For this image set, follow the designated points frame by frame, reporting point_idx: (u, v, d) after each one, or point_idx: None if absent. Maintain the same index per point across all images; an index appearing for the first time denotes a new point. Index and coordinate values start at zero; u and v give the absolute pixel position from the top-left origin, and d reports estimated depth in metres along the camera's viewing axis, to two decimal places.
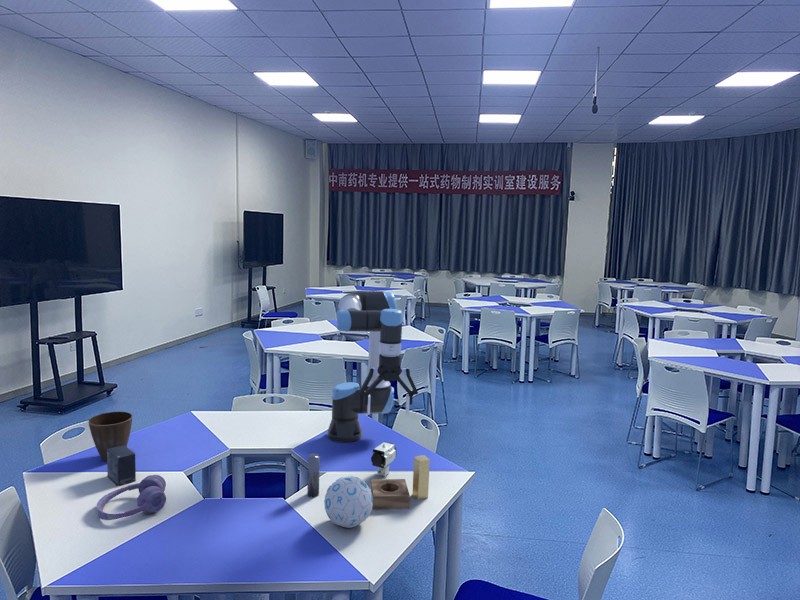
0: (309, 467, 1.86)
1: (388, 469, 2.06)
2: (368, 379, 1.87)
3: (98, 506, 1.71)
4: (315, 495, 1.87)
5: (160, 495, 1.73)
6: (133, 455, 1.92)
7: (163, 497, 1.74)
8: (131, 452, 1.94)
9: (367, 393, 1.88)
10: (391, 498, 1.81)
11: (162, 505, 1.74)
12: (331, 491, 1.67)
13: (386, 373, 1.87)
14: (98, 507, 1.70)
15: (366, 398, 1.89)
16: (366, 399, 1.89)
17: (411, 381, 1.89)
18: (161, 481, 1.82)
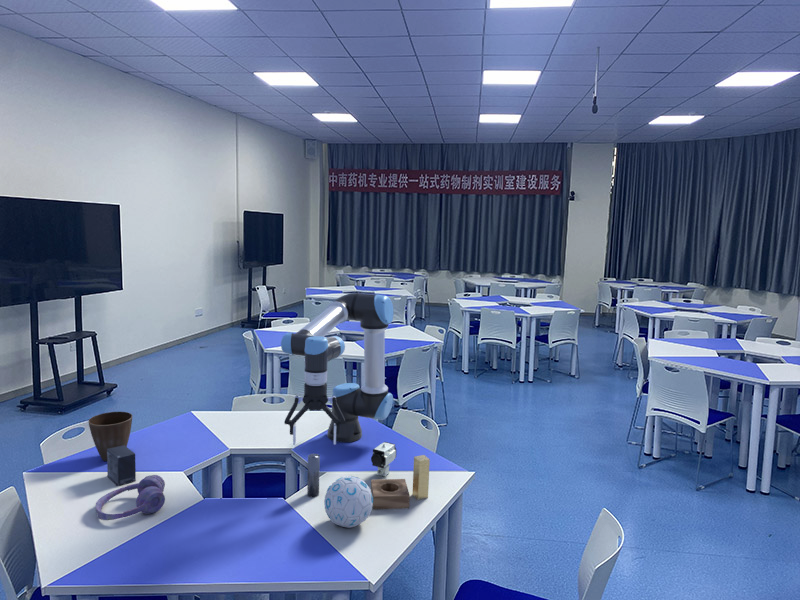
0: (309, 467, 1.86)
1: (388, 469, 2.06)
2: (293, 408, 1.83)
3: (97, 506, 1.71)
4: (315, 495, 1.87)
5: (159, 495, 1.73)
6: (133, 455, 1.92)
7: (162, 497, 1.74)
8: (131, 452, 1.94)
9: (292, 423, 1.83)
10: (391, 498, 1.81)
11: (161, 505, 1.74)
12: (331, 491, 1.67)
13: (311, 402, 1.82)
14: (97, 507, 1.70)
15: (291, 428, 1.84)
16: (291, 429, 1.84)
17: (338, 410, 1.85)
18: (160, 481, 1.81)
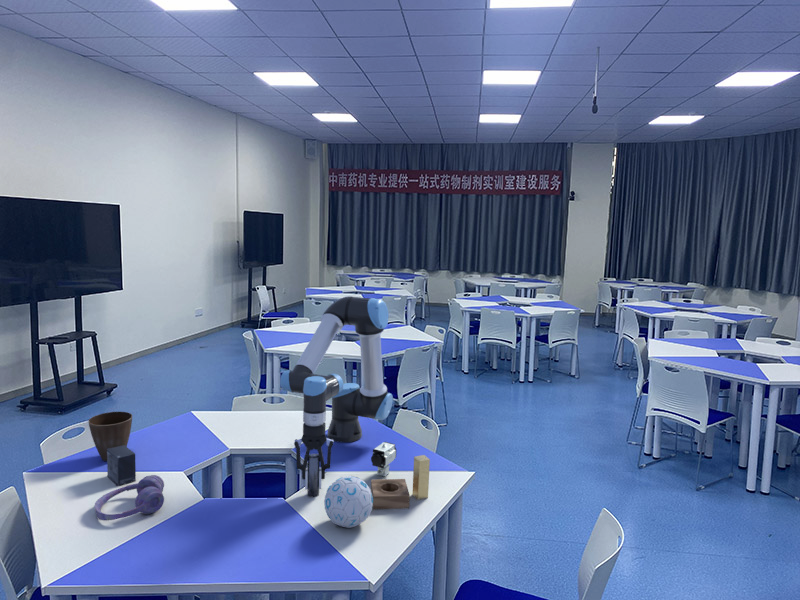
0: (309, 467, 1.86)
1: (388, 469, 2.06)
2: (297, 453, 1.85)
3: (96, 506, 1.71)
4: (315, 495, 1.87)
5: (158, 495, 1.73)
6: (133, 455, 1.92)
7: (161, 498, 1.74)
8: (131, 452, 1.94)
9: (303, 468, 1.86)
10: (391, 498, 1.81)
11: (160, 506, 1.73)
12: (331, 491, 1.67)
13: (310, 442, 1.84)
14: (96, 507, 1.70)
15: (304, 473, 1.87)
16: (303, 474, 1.87)
17: (329, 454, 1.87)
18: (159, 481, 1.81)
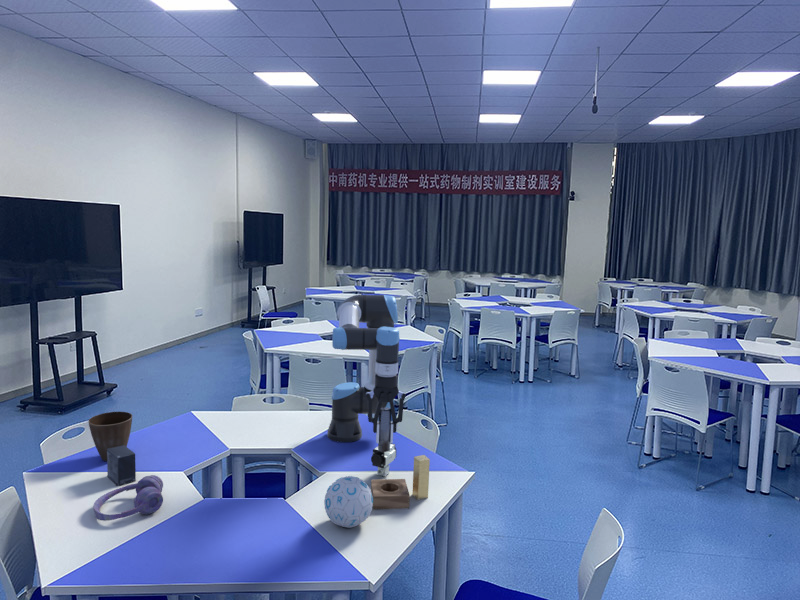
0: (381, 420, 1.82)
1: (388, 469, 2.06)
2: (369, 405, 1.81)
3: (95, 506, 1.70)
4: (386, 449, 1.83)
5: (157, 496, 1.73)
6: (133, 455, 1.92)
7: (160, 498, 1.73)
8: (131, 452, 1.94)
9: (375, 420, 1.82)
10: (391, 498, 1.81)
11: (159, 506, 1.73)
12: (331, 491, 1.67)
13: (382, 394, 1.80)
14: (95, 507, 1.70)
15: (375, 426, 1.83)
16: (375, 427, 1.83)
17: (401, 407, 1.82)
18: (158, 482, 1.81)
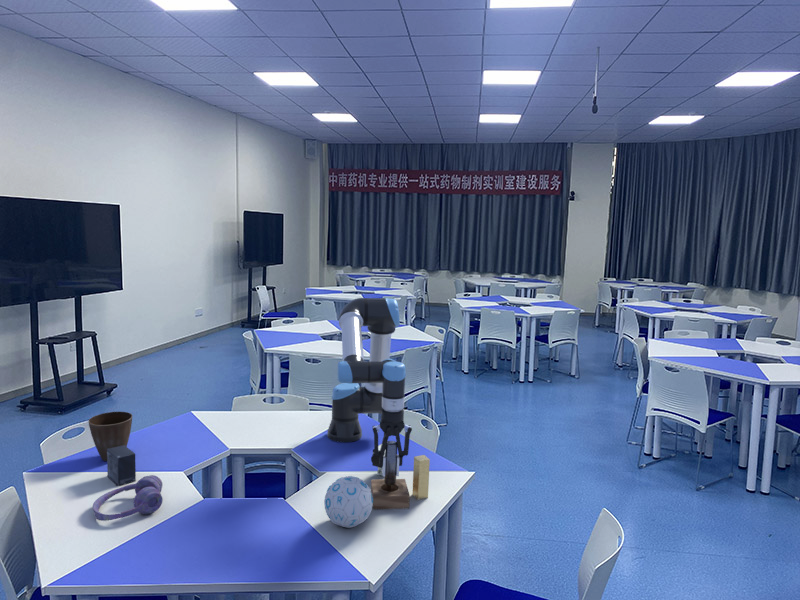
0: (387, 454, 1.84)
1: None
2: (376, 439, 1.83)
3: (94, 507, 1.70)
4: (393, 483, 1.85)
5: (156, 496, 1.73)
6: (133, 455, 1.92)
7: (159, 498, 1.73)
8: (131, 452, 1.94)
9: (381, 454, 1.84)
10: (391, 498, 1.81)
11: (158, 506, 1.73)
12: (331, 491, 1.67)
13: (388, 428, 1.82)
14: (94, 508, 1.70)
15: (381, 460, 1.84)
16: (381, 460, 1.84)
17: (407, 441, 1.84)
18: (158, 482, 1.81)
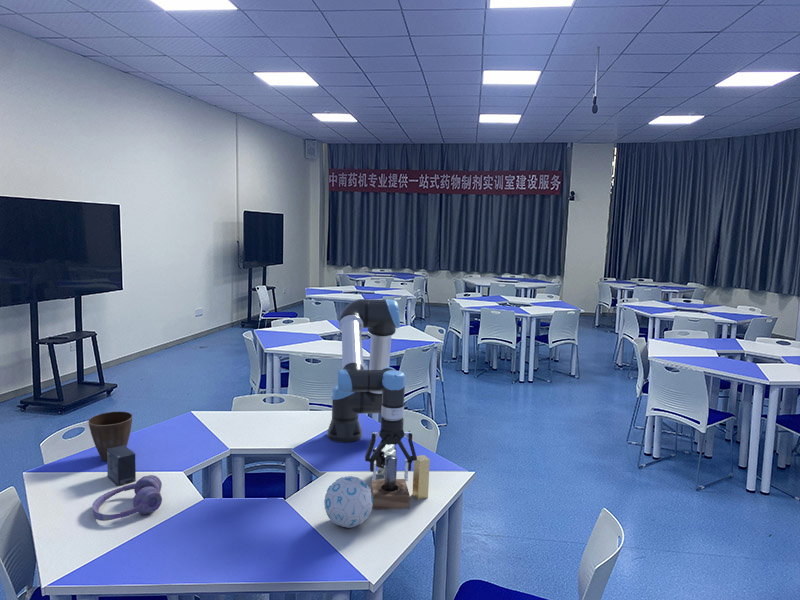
0: (387, 468, 1.85)
1: None
2: (371, 445, 1.83)
3: (93, 507, 1.70)
4: None
5: (156, 495, 1.73)
6: (133, 455, 1.92)
7: (159, 497, 1.74)
8: (131, 452, 1.94)
9: (372, 460, 1.83)
10: (391, 498, 1.81)
11: (158, 505, 1.73)
12: (331, 491, 1.67)
13: (388, 437, 1.82)
14: (93, 508, 1.70)
15: (372, 465, 1.84)
16: (372, 466, 1.84)
17: (412, 446, 1.85)
18: (157, 481, 1.81)
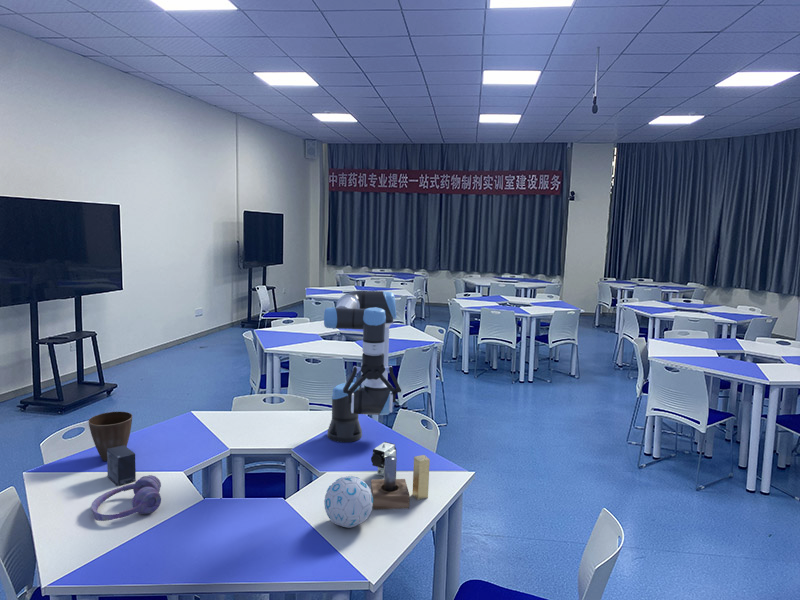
0: (386, 469, 1.84)
1: None
2: (351, 378, 1.88)
3: (93, 507, 1.70)
4: None
5: (155, 496, 1.73)
6: (133, 455, 1.92)
7: (158, 498, 1.73)
8: (131, 452, 1.94)
9: (350, 392, 1.89)
10: (391, 498, 1.81)
11: (157, 506, 1.73)
12: (331, 491, 1.67)
13: (369, 372, 1.88)
14: (93, 508, 1.70)
15: (350, 397, 1.90)
16: (350, 397, 1.90)
17: (394, 379, 1.91)
18: (156, 482, 1.81)
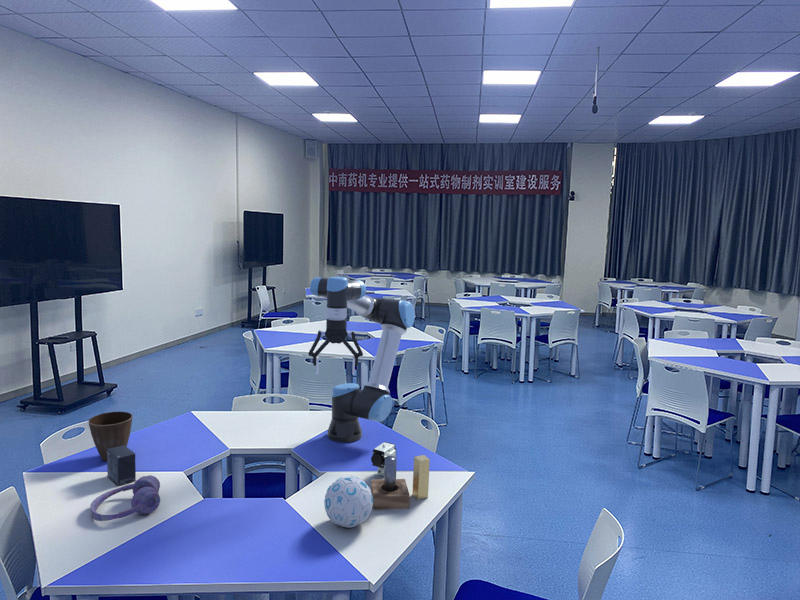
0: (386, 469, 1.84)
1: None
2: (316, 341, 2.03)
3: (92, 507, 1.70)
4: None
5: (154, 496, 1.73)
6: (133, 455, 1.92)
7: (157, 498, 1.73)
8: (131, 452, 1.94)
9: (315, 354, 2.03)
10: (391, 498, 1.81)
11: (156, 506, 1.73)
12: (331, 491, 1.67)
13: (332, 336, 2.02)
14: (92, 508, 1.69)
15: (315, 359, 2.04)
16: (314, 360, 2.04)
17: (356, 344, 2.05)
18: (155, 482, 1.81)
